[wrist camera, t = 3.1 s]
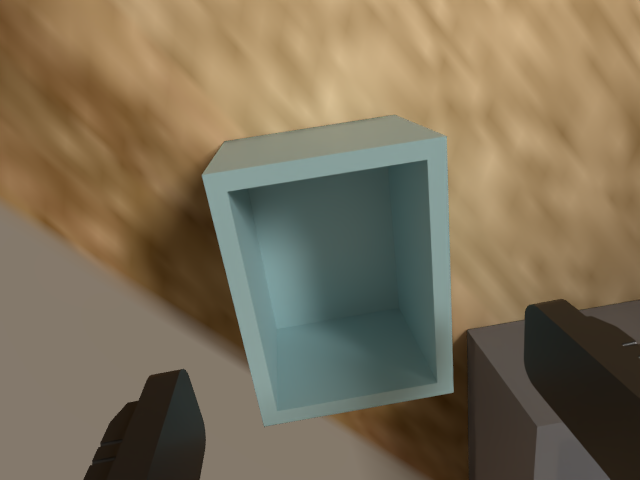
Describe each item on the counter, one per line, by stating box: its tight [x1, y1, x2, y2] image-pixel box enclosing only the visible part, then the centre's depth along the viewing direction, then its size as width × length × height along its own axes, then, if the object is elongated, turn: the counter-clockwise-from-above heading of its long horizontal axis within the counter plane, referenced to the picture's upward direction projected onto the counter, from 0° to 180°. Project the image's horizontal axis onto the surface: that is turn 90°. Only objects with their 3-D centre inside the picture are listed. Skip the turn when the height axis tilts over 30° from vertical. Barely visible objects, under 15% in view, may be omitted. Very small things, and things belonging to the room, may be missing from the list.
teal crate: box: [202, 115, 454, 427], centre depth 14 cm, size 8×6×5 cm
